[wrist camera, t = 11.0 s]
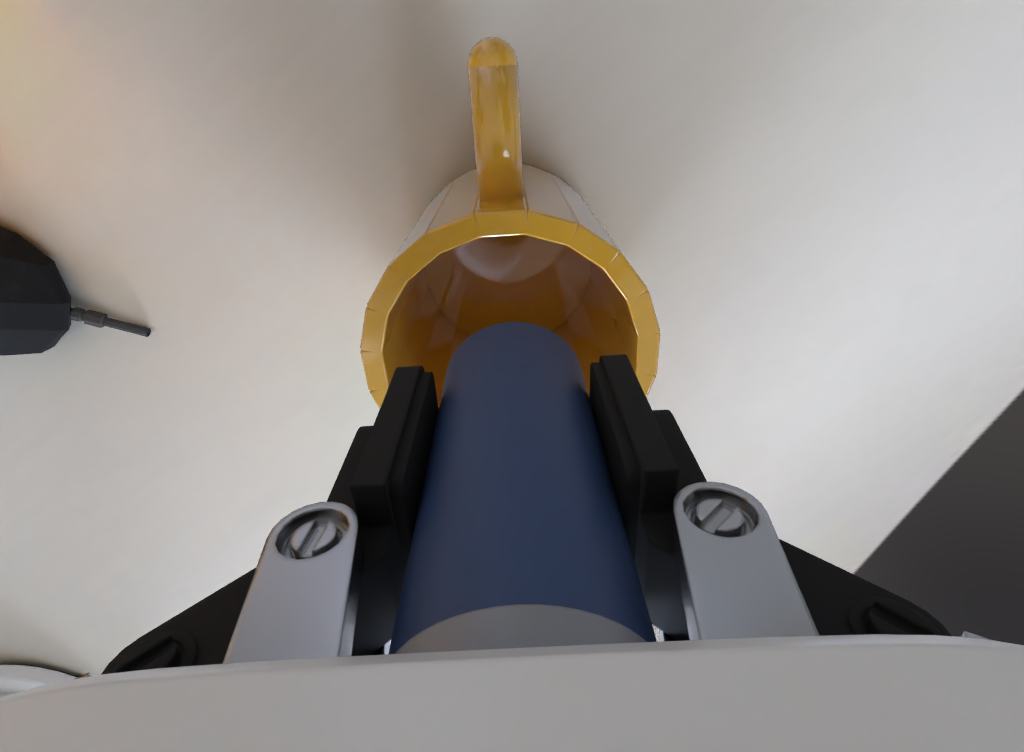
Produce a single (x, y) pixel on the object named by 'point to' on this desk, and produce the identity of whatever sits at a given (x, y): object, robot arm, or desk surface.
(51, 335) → the gaming mouse
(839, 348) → the desk surface
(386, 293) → the mug
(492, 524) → the glue stick
